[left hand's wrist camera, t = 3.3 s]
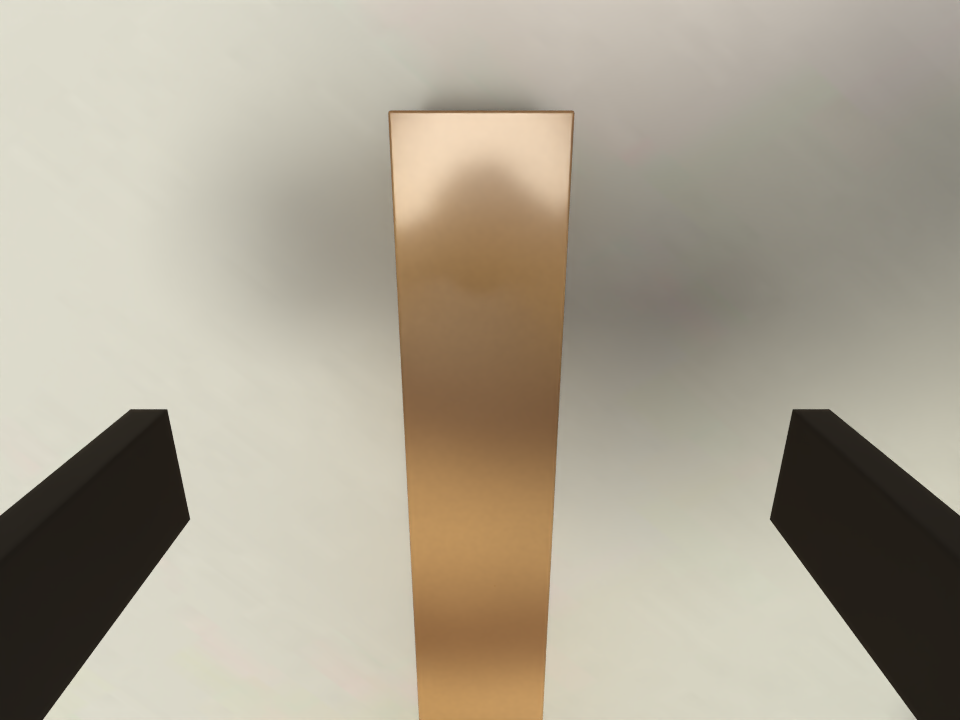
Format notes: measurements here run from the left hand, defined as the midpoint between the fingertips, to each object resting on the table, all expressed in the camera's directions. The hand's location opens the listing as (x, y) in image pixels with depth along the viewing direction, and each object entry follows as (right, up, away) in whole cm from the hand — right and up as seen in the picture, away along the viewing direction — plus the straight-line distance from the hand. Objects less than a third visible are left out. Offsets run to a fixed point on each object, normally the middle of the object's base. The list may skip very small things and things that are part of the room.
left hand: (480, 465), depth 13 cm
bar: (0, -22, +24) cm, 33 cm away
